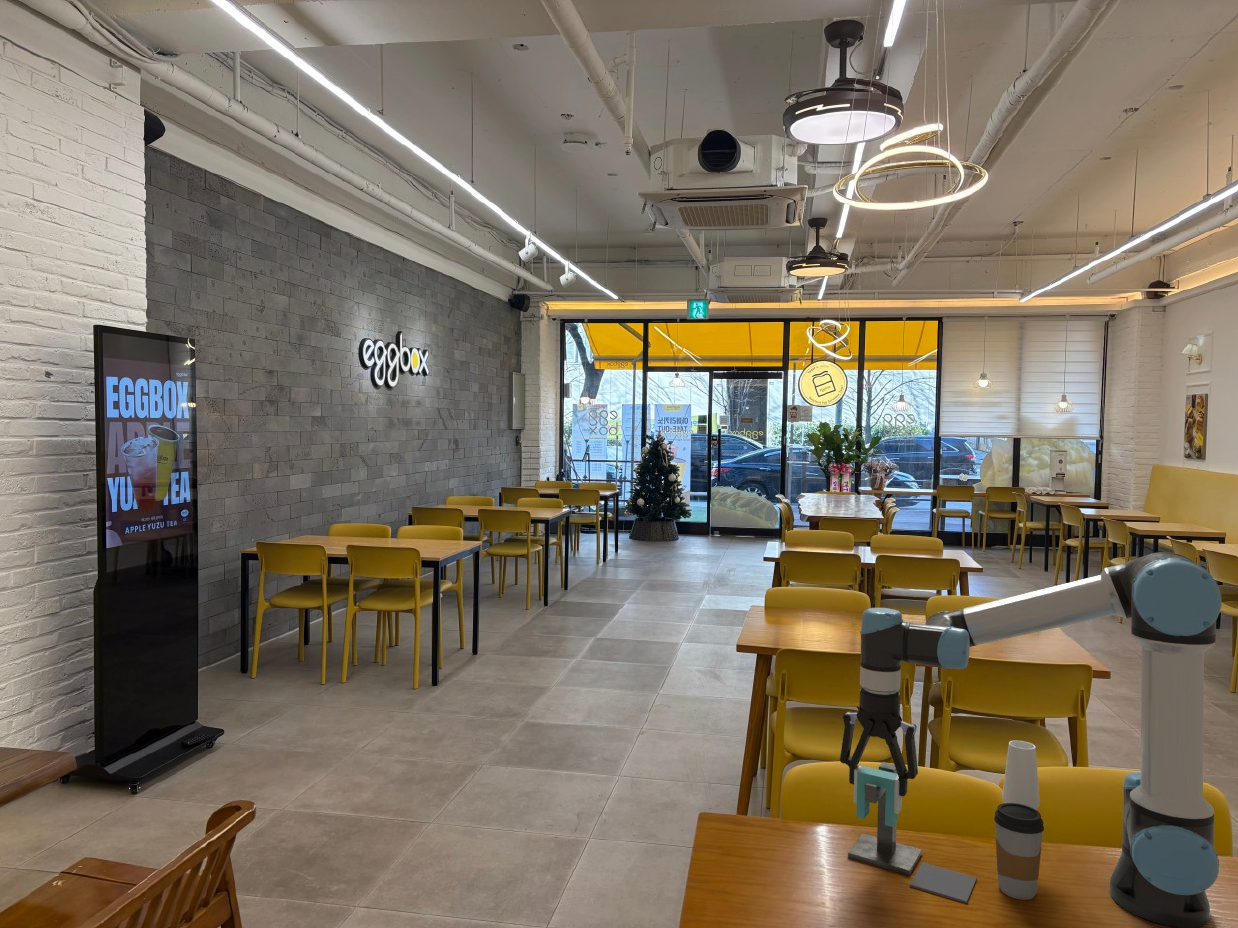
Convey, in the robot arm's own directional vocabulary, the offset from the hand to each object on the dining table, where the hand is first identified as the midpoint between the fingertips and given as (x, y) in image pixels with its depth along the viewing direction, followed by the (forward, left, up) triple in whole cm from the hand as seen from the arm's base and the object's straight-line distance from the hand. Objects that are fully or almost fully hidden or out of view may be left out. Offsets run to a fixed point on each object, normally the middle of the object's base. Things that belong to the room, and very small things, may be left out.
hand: (877, 805), depth 157 cm
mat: (-12, -2, -13) cm, 18 cm away
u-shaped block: (0, 0, -3) cm, 3 cm away
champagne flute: (-23, -18, -13) cm, 32 cm away
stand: (0, -3, -13) cm, 13 cm away
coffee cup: (-24, -7, -13) cm, 28 cm away
